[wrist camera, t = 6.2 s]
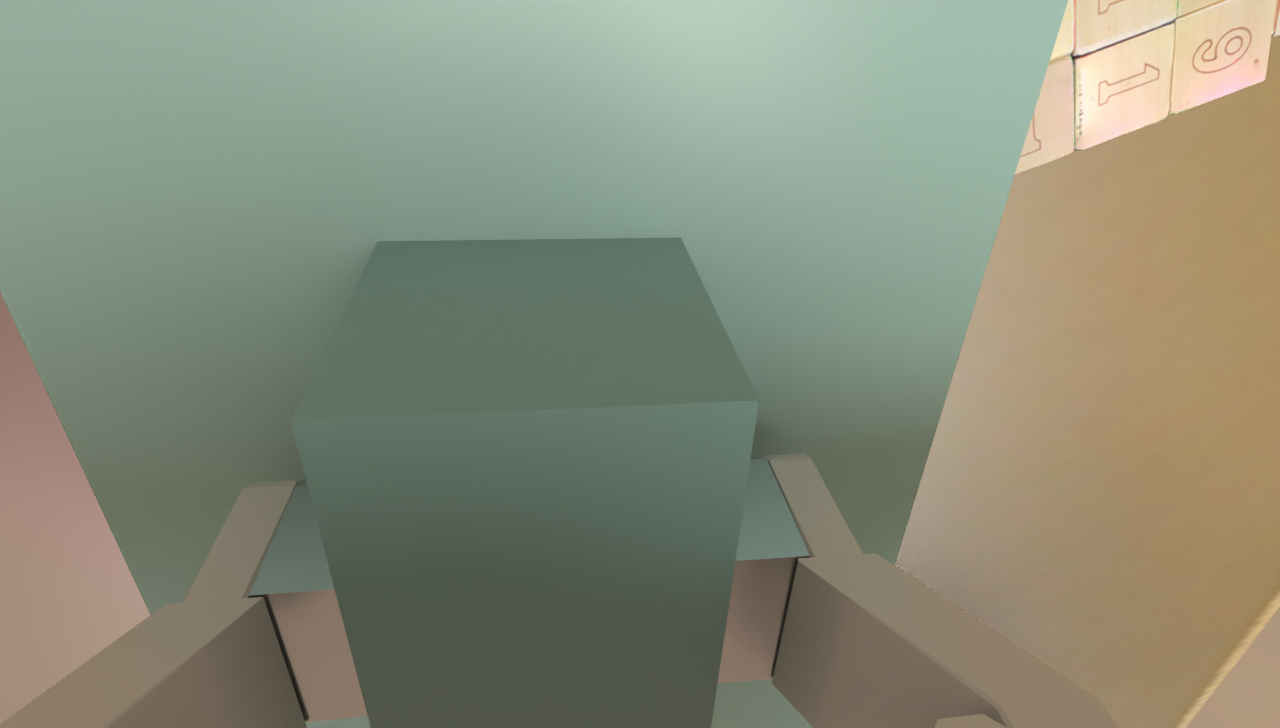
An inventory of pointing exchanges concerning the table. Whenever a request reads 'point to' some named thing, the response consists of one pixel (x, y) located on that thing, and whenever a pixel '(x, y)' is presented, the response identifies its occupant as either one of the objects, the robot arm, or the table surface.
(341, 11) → the lid
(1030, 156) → the stack of blocks
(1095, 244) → the table surface
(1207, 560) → the table surface
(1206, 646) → the table surface
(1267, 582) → the table surface
